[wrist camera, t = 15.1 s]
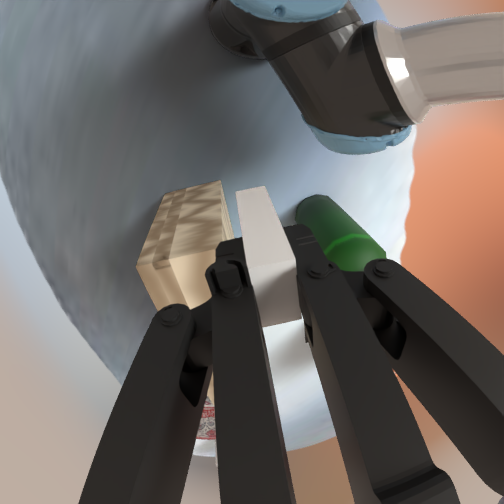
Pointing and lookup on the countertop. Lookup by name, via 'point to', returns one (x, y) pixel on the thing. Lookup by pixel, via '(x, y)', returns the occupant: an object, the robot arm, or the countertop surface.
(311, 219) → the bottle
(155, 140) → the countertop surface
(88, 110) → the countertop surface
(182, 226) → the block
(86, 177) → the countertop surface
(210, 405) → the ceramic bowl
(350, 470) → the robot arm
